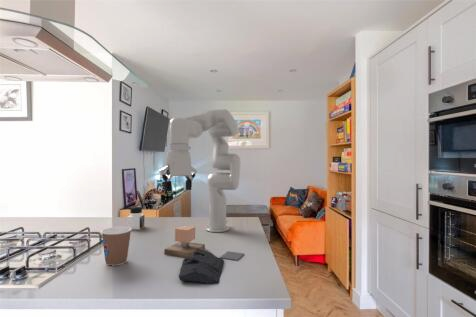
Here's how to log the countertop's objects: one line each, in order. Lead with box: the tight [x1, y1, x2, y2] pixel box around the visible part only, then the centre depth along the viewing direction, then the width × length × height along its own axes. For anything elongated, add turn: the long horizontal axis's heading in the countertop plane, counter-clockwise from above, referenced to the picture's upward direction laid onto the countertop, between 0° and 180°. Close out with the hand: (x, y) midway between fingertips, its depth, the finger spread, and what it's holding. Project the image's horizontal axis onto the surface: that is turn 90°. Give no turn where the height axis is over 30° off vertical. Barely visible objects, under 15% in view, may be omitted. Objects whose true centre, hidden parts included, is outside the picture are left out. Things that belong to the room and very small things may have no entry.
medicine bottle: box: [126, 205, 145, 231], centre depth 151 cm, size 7×7×12 cm
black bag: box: [178, 249, 225, 285], centre depth 93 cm, size 15×22×5 cm
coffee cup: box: [100, 226, 133, 267], centre depth 100 cm, size 10×10×12 cm
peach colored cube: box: [174, 225, 196, 243], centre depth 112 cm, size 6×6×5 cm
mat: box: [219, 250, 245, 262], centre depth 107 cm, size 8×7×1 cm
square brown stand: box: [163, 241, 206, 258], centre depth 112 cm, size 12×12×9 cm
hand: (178, 190), depth 110 cm, fingers open, 9 cm apart
